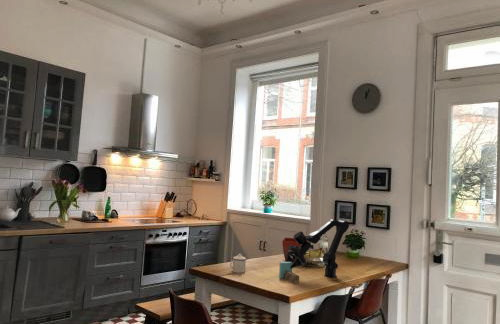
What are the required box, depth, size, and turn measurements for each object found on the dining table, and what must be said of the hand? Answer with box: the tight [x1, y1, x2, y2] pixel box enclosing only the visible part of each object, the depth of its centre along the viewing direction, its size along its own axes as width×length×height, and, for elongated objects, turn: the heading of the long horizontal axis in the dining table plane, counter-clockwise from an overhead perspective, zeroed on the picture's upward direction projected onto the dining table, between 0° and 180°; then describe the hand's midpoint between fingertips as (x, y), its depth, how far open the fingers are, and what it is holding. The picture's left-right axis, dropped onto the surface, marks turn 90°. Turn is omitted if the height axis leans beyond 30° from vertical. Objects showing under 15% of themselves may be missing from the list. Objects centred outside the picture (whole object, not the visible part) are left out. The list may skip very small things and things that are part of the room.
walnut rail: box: [283, 271, 300, 285], centre depth 254 cm, size 20×2×5 cm, turn 21°
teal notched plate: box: [278, 261, 293, 280], centre depth 260 cm, size 8×2×10 cm, turn 111°
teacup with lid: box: [229, 253, 247, 274], centre depth 270 cm, size 12×9×12 cm
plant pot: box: [281, 237, 308, 263], centre depth 318 cm, size 19×19×17 cm
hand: (287, 266), depth 261 cm, fingers open, 9 cm apart
